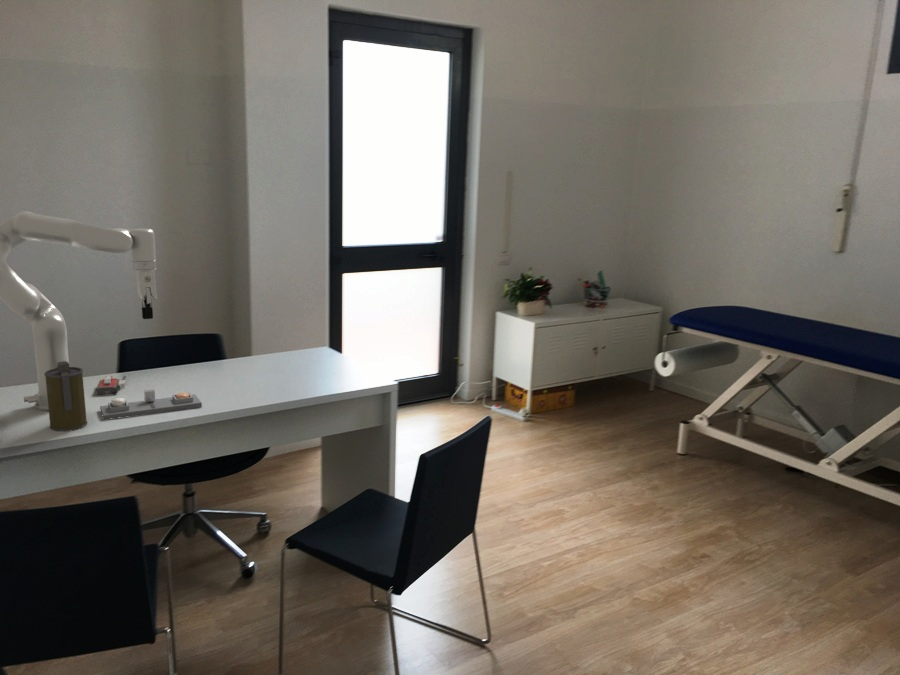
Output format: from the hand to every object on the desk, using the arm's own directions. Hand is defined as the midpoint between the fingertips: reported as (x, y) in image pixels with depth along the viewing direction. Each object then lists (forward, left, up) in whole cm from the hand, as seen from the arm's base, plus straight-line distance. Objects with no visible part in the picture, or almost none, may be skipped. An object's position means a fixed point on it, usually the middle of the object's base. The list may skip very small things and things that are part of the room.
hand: (147, 318), depth 253 cm
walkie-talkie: (-11, +13, -28) cm, 33 cm away
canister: (-28, -23, -27) cm, 45 cm away
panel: (-3, -17, -27) cm, 32 cm away
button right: (+7, -17, -25) cm, 31 cm away
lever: (-3, -14, -25) cm, 29 cm away
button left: (-13, -17, -24) cm, 32 cm away
